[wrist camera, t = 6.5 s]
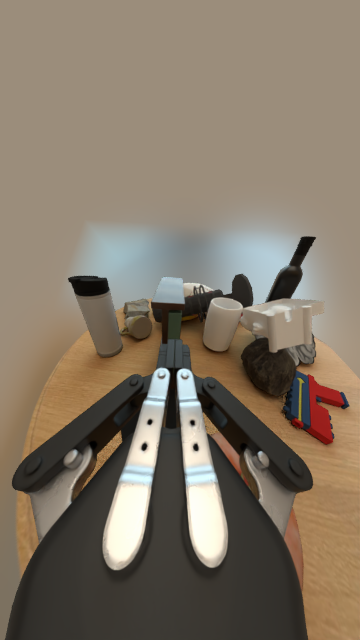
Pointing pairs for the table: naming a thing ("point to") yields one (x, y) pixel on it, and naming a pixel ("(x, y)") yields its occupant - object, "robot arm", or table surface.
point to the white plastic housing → (282, 321)
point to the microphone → (203, 300)
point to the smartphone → (170, 417)
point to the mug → (137, 326)
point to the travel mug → (98, 313)
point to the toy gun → (312, 406)
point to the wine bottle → (290, 273)
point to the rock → (269, 367)
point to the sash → (174, 325)
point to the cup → (221, 323)
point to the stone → (136, 308)
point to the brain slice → (300, 352)
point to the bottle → (190, 286)
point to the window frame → (168, 303)
